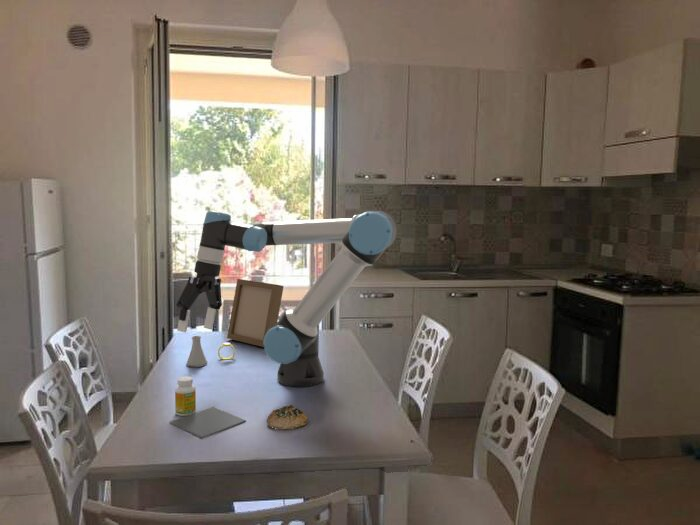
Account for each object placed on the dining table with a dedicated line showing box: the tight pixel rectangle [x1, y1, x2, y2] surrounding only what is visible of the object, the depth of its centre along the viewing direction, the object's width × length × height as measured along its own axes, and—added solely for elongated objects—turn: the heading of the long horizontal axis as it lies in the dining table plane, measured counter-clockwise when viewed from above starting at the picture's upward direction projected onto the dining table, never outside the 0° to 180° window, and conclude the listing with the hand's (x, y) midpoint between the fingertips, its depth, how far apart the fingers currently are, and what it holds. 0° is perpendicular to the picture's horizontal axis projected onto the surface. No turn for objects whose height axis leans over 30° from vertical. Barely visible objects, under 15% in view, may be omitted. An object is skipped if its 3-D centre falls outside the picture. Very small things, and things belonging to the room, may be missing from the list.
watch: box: [217, 342, 236, 361], centre depth 206 cm, size 6×3×6 cm, turn 103°
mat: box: [169, 406, 247, 439], centre depth 150 cm, size 14×14×1 cm
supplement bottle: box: [174, 376, 197, 417], centre depth 156 cm, size 5×5×10 cm
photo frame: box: [226, 278, 285, 348], centre depth 230 cm, size 15×22×25 cm
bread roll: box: [266, 404, 309, 430], centre depth 151 cm, size 11×11×5 cm
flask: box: [185, 335, 208, 368], centre depth 199 cm, size 7×7×10 cm
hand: (195, 330), depth 172 cm, fingers open, 13 cm apart
